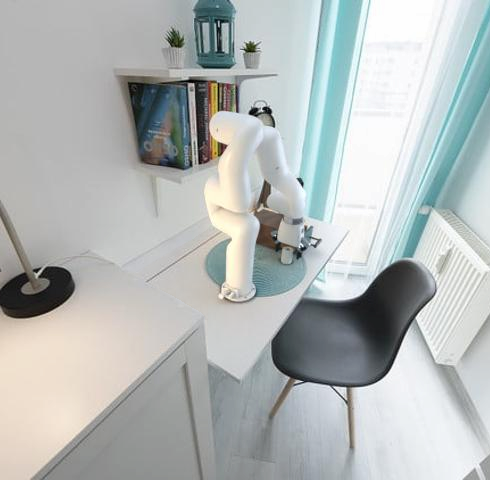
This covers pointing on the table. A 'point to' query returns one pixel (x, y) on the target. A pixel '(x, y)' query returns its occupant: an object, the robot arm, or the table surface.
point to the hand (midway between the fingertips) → (287, 254)
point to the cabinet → (267, 227)
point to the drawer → (307, 236)
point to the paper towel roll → (287, 255)
